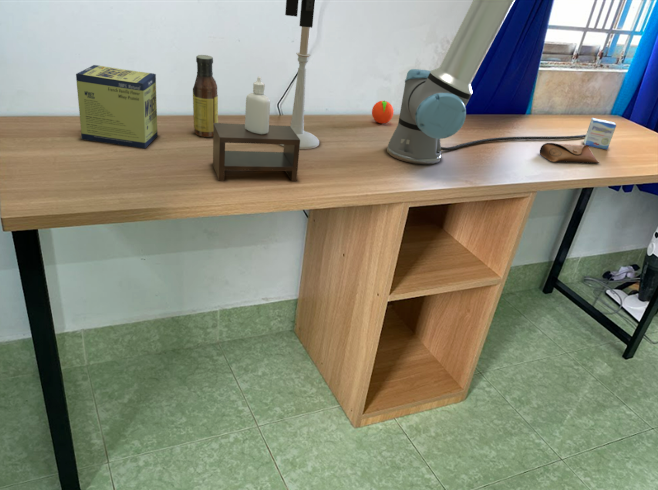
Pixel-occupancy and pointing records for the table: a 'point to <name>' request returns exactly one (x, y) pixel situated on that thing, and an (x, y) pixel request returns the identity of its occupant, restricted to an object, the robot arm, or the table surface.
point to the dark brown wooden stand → (251, 158)
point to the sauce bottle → (205, 97)
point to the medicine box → (599, 133)
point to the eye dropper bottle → (257, 109)
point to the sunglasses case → (567, 153)
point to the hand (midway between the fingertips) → (298, 21)
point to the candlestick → (302, 97)
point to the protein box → (117, 106)
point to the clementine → (382, 112)
